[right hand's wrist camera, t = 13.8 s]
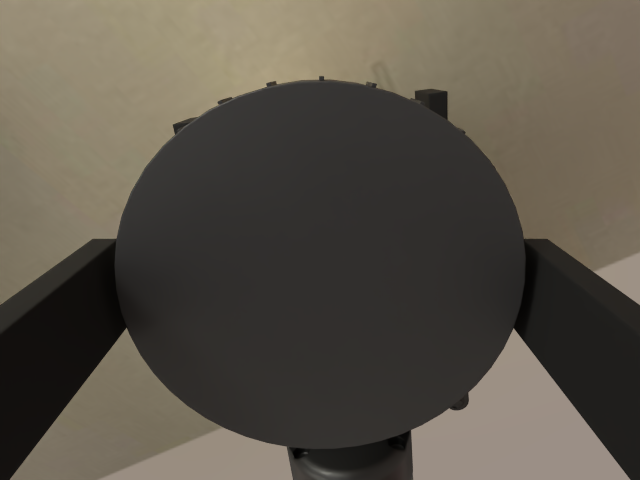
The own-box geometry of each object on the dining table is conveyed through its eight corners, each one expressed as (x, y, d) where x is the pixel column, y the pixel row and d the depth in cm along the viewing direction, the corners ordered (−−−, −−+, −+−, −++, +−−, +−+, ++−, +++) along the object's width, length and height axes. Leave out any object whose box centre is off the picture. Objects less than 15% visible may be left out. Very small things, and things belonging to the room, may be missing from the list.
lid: (250, -16, 10) (237, -33, 9) (578, 216, 13) (619, 239, 11) (85, 315, 14) (51, 349, 12) (365, 451, 16) (370, 497, 14)
